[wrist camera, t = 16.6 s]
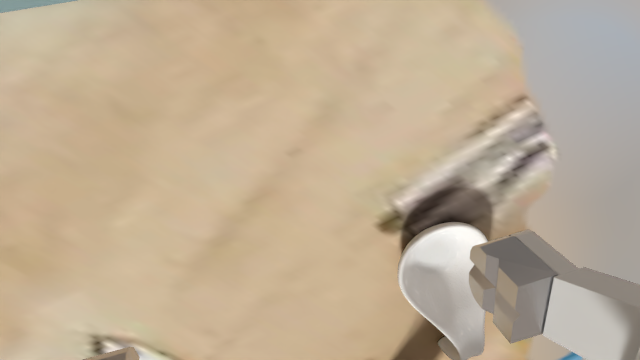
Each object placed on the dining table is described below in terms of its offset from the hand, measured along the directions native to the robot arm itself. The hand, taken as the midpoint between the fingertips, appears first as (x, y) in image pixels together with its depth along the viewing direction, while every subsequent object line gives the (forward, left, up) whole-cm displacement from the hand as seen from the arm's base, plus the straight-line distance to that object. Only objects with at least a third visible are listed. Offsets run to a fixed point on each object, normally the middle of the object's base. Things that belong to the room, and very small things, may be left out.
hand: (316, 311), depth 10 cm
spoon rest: (+20, -35, -32) cm, 51 cm away
